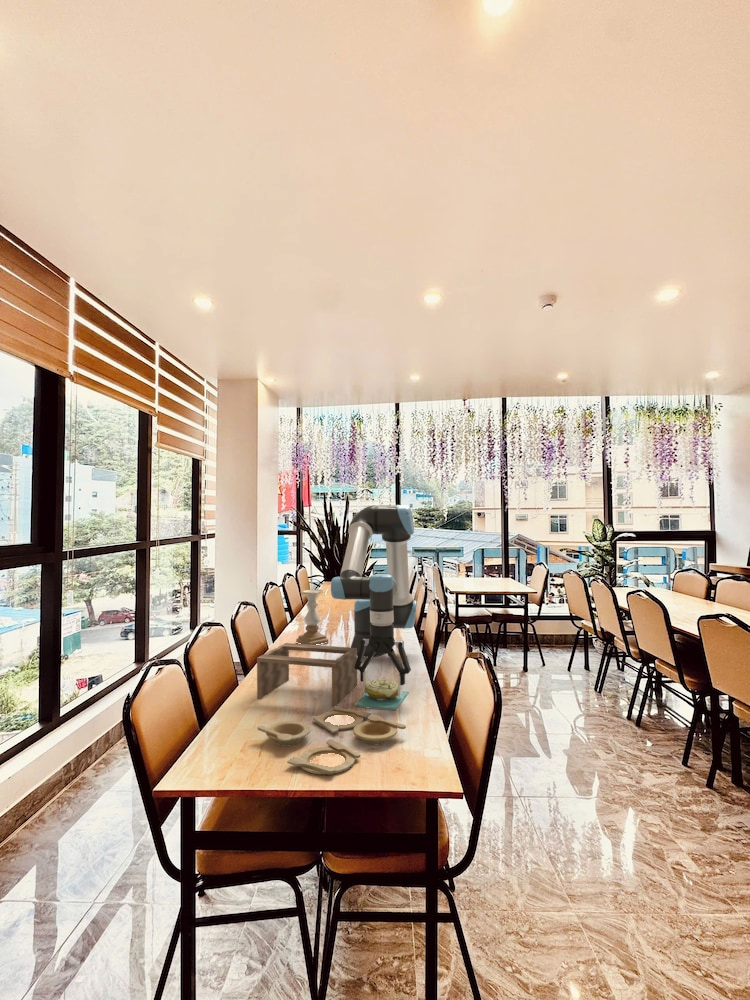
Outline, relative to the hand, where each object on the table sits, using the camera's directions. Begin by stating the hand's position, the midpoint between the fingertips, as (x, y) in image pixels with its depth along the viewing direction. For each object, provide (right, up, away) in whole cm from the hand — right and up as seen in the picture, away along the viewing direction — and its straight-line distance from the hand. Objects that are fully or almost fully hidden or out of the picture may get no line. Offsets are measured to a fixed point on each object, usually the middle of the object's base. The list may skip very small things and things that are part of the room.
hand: (382, 693), depth 165 cm
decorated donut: (0, -1, 0) cm, 1 cm away
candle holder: (-31, -5, +74) cm, 81 cm away
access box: (-24, -2, +7) cm, 26 cm away
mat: (0, -2, 0) cm, 2 cm away
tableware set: (-13, -2, -29) cm, 32 cm away
